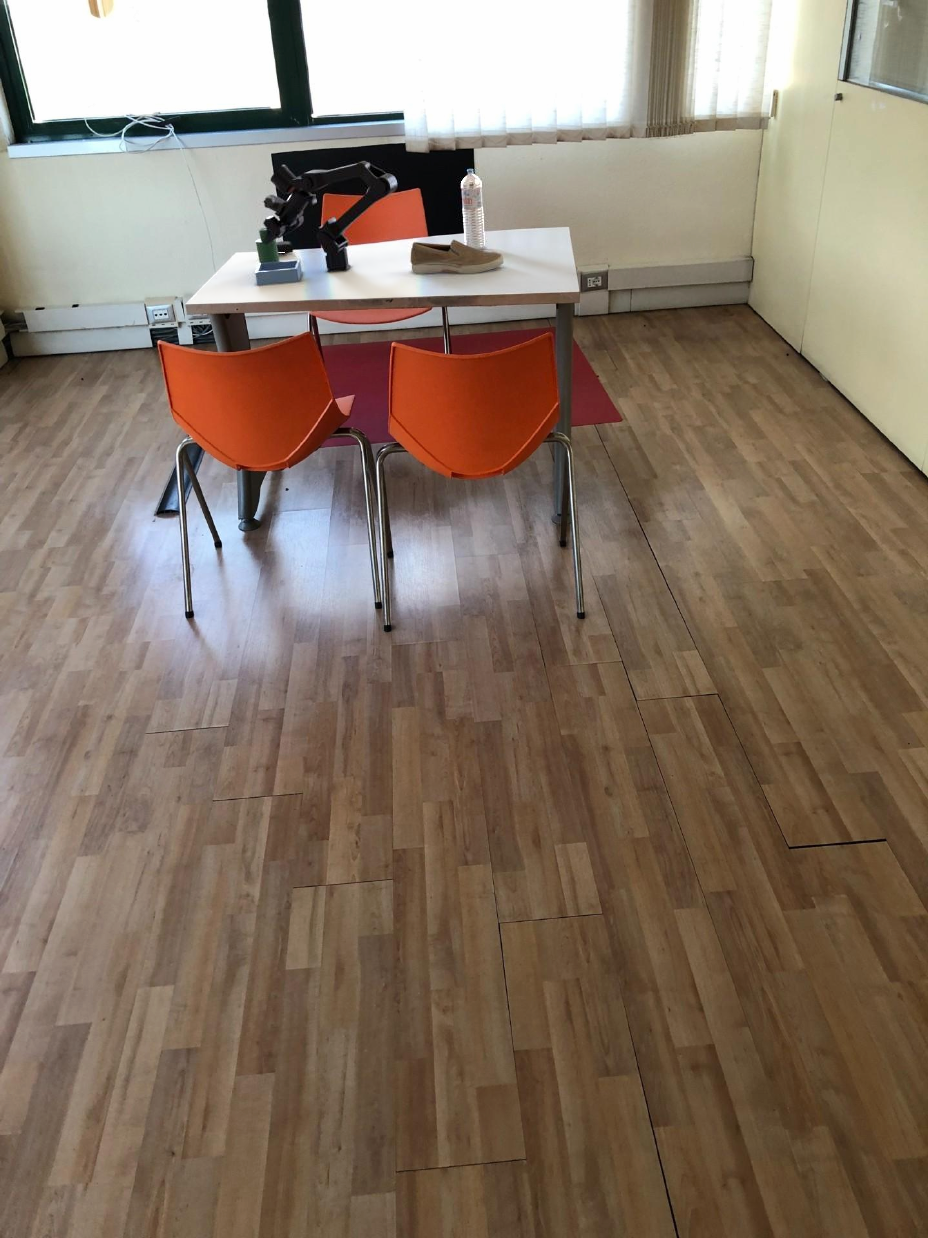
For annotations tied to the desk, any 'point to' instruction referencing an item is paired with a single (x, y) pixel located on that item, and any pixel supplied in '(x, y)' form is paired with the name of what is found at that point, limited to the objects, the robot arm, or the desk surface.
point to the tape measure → (284, 247)
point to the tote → (278, 272)
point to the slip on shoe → (452, 258)
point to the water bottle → (473, 211)
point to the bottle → (266, 249)
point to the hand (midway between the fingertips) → (271, 240)
